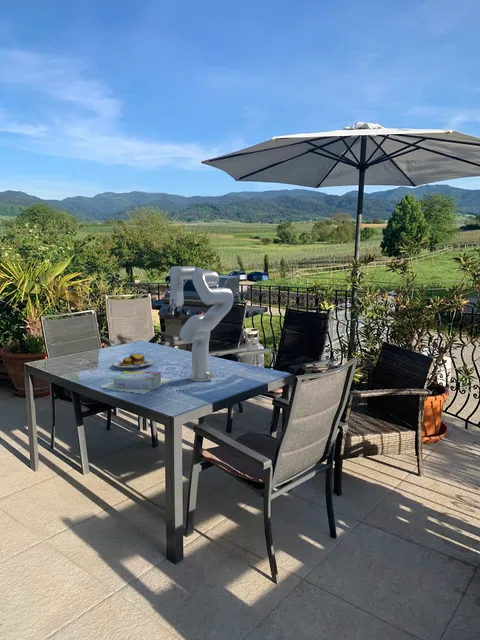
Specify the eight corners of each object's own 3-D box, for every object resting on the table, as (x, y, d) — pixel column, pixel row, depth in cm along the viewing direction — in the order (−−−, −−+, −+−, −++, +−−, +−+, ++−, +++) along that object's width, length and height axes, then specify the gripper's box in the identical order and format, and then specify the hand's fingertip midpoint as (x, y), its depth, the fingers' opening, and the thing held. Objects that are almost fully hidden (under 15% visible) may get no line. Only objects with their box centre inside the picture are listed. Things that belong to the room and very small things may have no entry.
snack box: (160, 371, 236) (152, 379, 222) (161, 381, 237) (152, 390, 223) (124, 370, 239) (113, 378, 224) (124, 379, 240) (113, 388, 225)
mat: (171, 380, 242) (171, 379, 242) (143, 394, 217) (143, 393, 217) (130, 374, 252) (130, 373, 252) (99, 388, 227) (99, 386, 227)
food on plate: (104, 369, 265) (103, 359, 264) (128, 360, 288) (128, 350, 287) (138, 373, 256) (138, 362, 255) (161, 363, 279) (160, 354, 278)
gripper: (177, 286, 262) (177, 315, 265) (165, 287, 248) (165, 319, 251) (188, 286, 260) (188, 316, 263) (176, 288, 246) (177, 319, 249)
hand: (177, 317), depth 257 cm, fingers closed
